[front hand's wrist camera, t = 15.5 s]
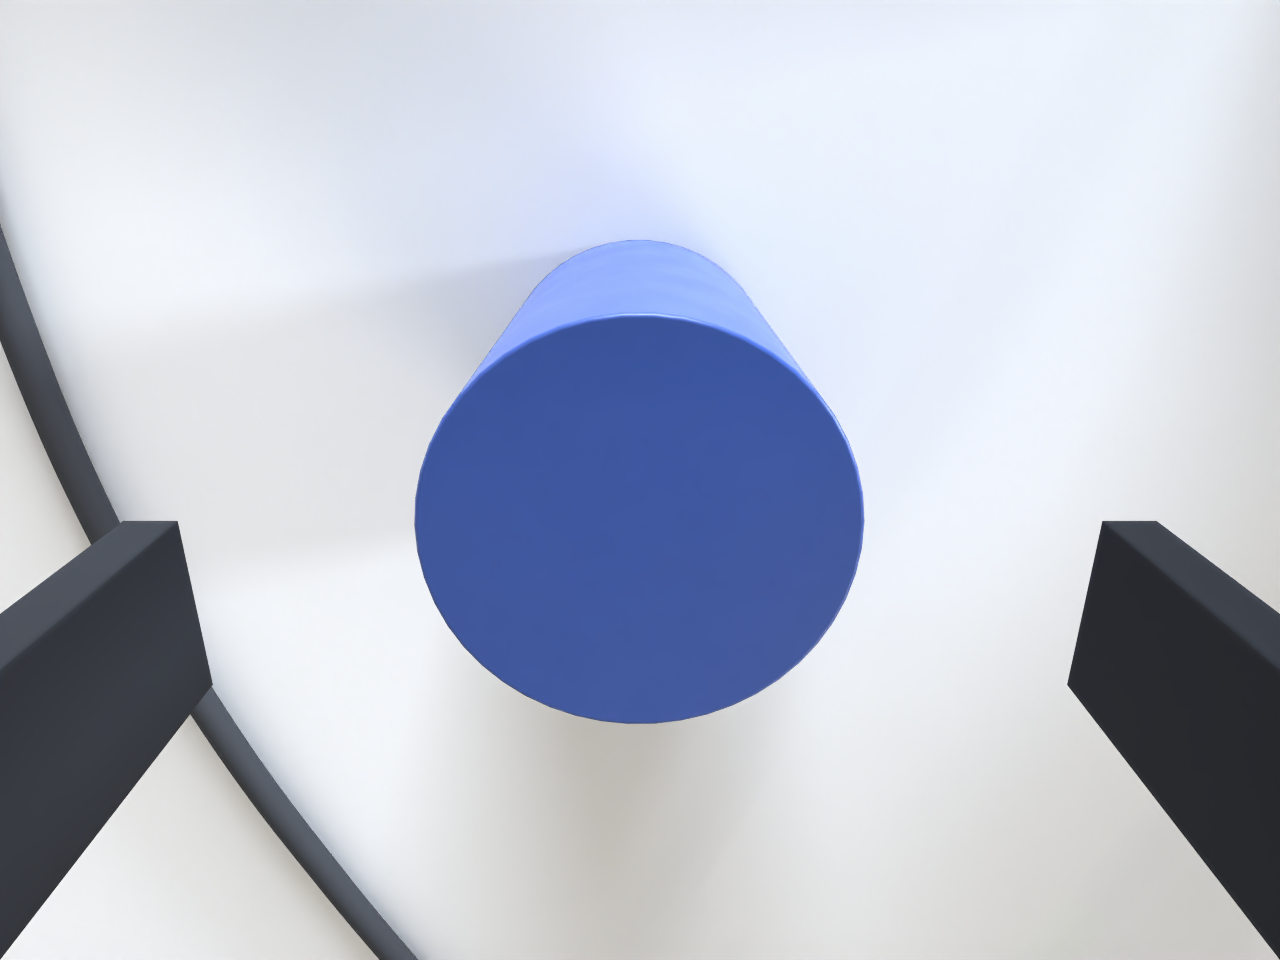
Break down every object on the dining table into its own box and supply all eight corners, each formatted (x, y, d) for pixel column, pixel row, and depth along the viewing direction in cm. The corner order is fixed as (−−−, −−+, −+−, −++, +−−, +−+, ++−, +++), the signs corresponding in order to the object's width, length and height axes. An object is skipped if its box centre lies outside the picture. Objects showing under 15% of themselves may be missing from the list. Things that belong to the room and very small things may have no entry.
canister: (696, 537, 28) (732, 781, 17) (465, 435, 27) (351, 630, 16) (820, 314, 26) (953, 438, 15) (571, 190, 24) (519, 226, 14)
